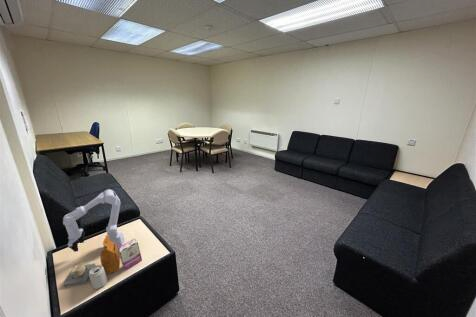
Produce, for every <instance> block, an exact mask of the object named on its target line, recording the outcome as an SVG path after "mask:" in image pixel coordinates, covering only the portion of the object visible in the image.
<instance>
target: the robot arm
mask: <svg viewBox="0 0 476 317" xmlns="http://www.w3.org/2000/svg"><path fill="white" fill-rule="evenodd" d="M98 204H110V205H111V209H110V210H111V211H110V216H109V221H108V224H107V226H106V227H105V230H106V235H108V236H110V237H109V240H110V241H112V242H113V243H115V244H116V246H117V248H118V247H120V246H122V245H123V244H125V240H126V239H125V237H124V233H123V232H122V233H121V232H119V231H117V230H118V220H119V214H120V208H121V199H120V198H119V196H118V195H117V193H116V191H114V190H113V189H110V188H108V189H106V190H104V191H102V192H100V194H98V195H97V196H96V197H95V198H93V199H92V200H90V201H89V202H87V203H86V204H85V205H81V206H79V207H76V208H75V209H73V210H72V211H71V212H68V213H67V214H65V215H64V216H63V217H62V225H63V226H64V227H65V229H66V232H67V235H68V237H67V240H68V242H67V244H66V247H67V248H69V249H71V250H72V251H73V252H75V253H76V252H78V251H79V248H78V247H79V246H78V245H79V243H80V244H82V243H85V234H86V232H85V231H84V229H83V228H79V226H78V223H77V220H79V219H80V218H81V217H83V216H84V215H86V214H87V213H88V210H90V209H92V208H93V207H95V206H97V205H98ZM77 240H78V242H76V241H77Z"/></svg>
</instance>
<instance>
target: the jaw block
mask: <svg viewBox="0 0 476 317" xmlns="http://www.w3.org/2000/svg"><path fill="white" fill-rule="evenodd" d="M84 265H85V264H78V265H75V266H74V267H75V268H74V267H73V268H74V269H73V268H72V270H73V271H72V270H71V271H72V274H73V276H74V278H78V277H83V276H84V274H85V272H86V269H85V266H84Z"/></svg>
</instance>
